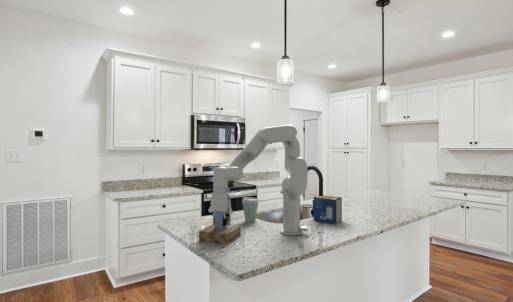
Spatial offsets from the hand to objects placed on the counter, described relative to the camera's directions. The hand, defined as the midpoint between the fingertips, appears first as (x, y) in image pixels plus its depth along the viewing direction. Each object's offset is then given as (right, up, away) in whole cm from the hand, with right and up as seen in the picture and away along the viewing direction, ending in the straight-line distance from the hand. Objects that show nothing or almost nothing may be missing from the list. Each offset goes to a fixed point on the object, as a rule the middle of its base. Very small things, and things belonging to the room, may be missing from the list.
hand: (220, 224), depth 153 cm
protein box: (+65, -7, +38) cm, 76 cm away
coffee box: (-2, -7, +27) cm, 28 cm away
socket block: (0, -7, 0) cm, 7 cm away
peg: (0, -4, 0) cm, 4 cm away
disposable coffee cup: (+15, -7, +35) cm, 39 cm away
